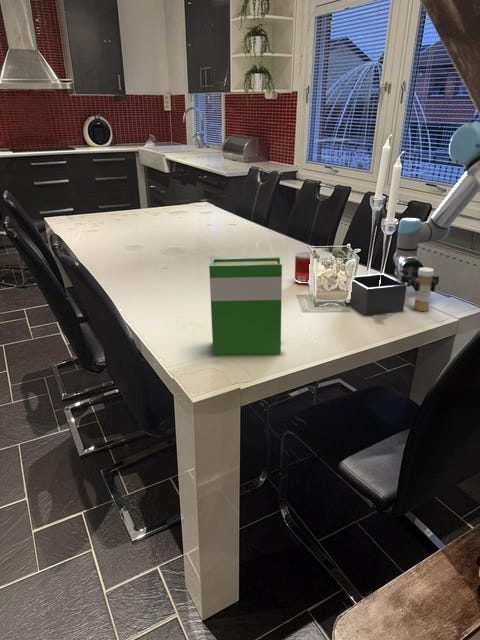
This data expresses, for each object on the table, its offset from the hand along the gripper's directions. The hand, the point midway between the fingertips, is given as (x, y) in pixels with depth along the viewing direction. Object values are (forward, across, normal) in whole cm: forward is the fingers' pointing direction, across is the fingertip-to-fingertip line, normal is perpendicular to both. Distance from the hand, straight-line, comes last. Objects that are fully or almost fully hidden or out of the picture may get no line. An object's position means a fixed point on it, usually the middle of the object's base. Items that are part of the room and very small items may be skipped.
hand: (425, 287), depth 146 cm
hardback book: (+33, +52, -8) cm, 63 cm away
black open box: (-3, +15, -8) cm, 17 cm away
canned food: (-28, +37, -8) cm, 48 cm away
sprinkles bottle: (-2, 0, -8) cm, 8 cm away
